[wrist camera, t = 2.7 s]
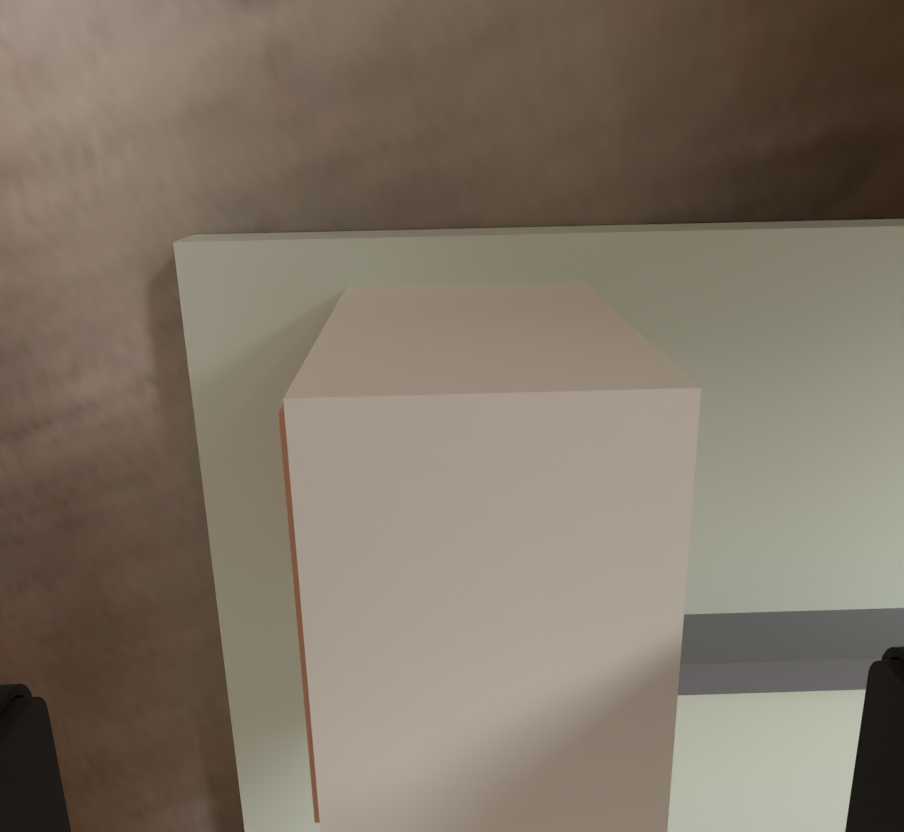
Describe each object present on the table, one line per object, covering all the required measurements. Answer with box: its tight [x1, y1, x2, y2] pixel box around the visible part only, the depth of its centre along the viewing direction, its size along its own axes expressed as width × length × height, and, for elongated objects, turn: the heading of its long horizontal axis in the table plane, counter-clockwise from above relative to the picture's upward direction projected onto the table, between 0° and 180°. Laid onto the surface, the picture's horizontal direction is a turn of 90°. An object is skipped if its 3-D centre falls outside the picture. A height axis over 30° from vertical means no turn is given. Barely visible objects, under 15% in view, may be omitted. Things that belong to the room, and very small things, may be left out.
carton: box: [278, 281, 701, 832], centre depth 15 cm, size 5×7×8 cm
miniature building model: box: [173, 219, 904, 832], centre depth 20 cm, size 20×18×4 cm
